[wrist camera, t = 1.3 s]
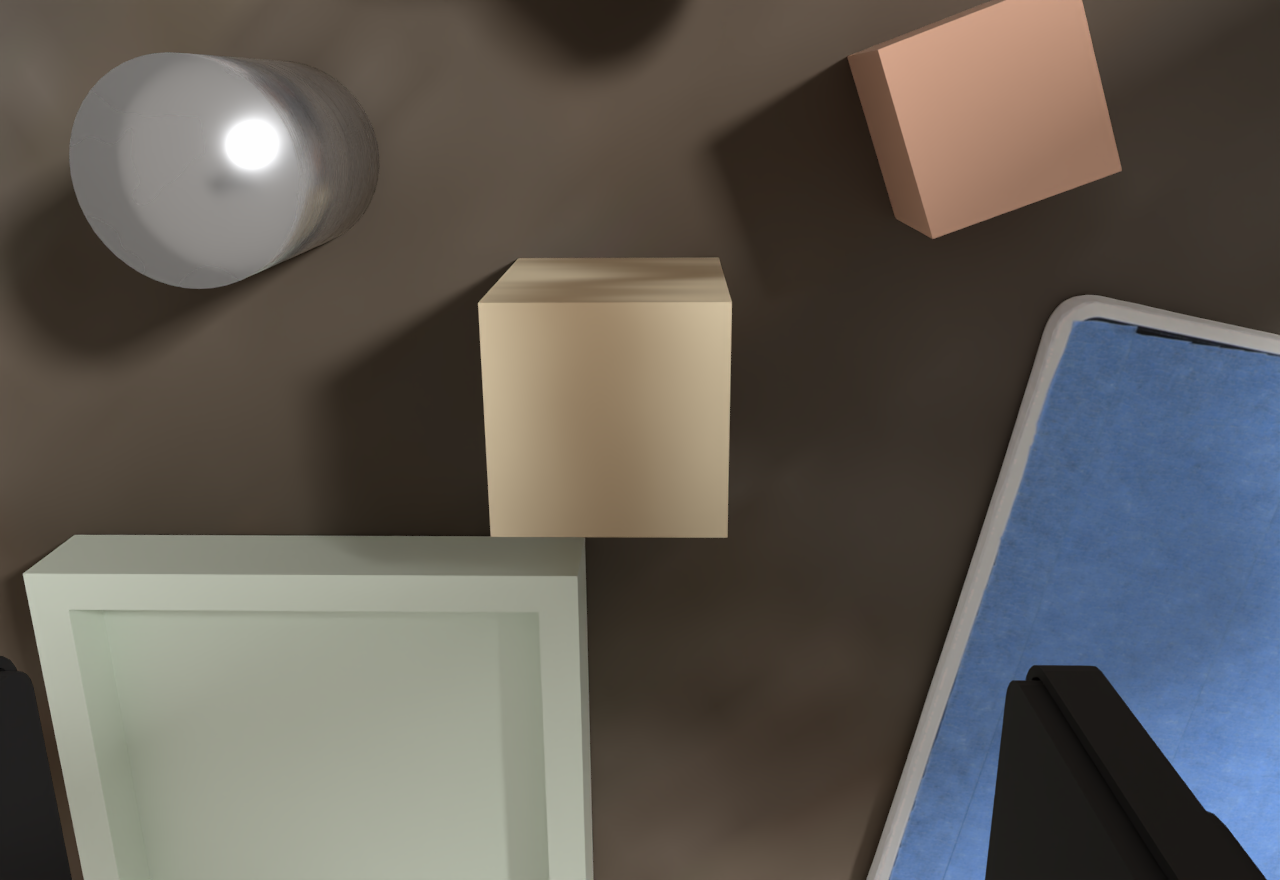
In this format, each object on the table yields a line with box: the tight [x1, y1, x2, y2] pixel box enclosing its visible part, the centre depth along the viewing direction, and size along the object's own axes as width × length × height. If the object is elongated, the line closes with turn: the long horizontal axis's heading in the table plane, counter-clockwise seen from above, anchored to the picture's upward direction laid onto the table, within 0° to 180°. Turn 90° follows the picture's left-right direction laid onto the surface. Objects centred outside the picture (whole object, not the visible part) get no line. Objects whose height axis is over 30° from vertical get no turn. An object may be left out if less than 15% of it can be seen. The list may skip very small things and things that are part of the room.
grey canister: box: [69, 52, 379, 289], centre depth 24 cm, size 4×4×6 cm
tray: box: [23, 535, 594, 880], centre depth 30 cm, size 14×14×2 cm
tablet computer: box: [866, 295, 1280, 880], centre depth 30 cm, size 19×13×1 cm, turn 168°
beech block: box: [478, 258, 732, 538], centre depth 25 cm, size 5×5×6 cm
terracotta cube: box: [847, 0, 1122, 239], centre depth 24 cm, size 4×4×4 cm
